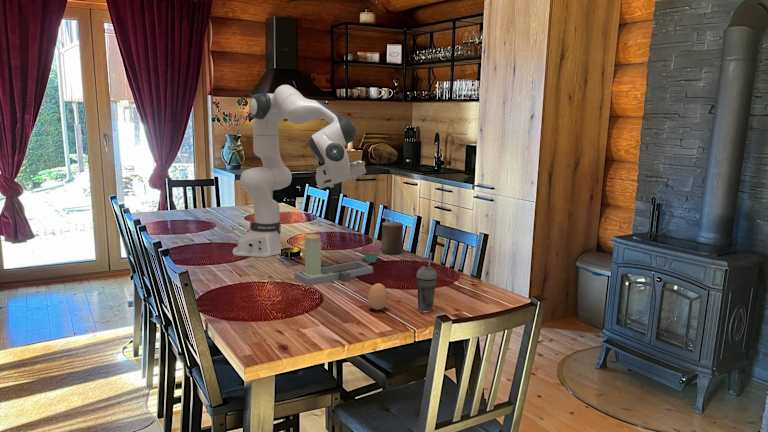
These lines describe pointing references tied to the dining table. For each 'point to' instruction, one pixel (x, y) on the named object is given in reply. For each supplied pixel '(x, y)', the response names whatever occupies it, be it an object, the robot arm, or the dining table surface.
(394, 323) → the dining table surface
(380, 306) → the egg
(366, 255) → the cupcake
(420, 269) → the beverage cup
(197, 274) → the dining table surface
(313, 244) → the sage green tall block
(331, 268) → the grey divided tray
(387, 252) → the pillar candle
